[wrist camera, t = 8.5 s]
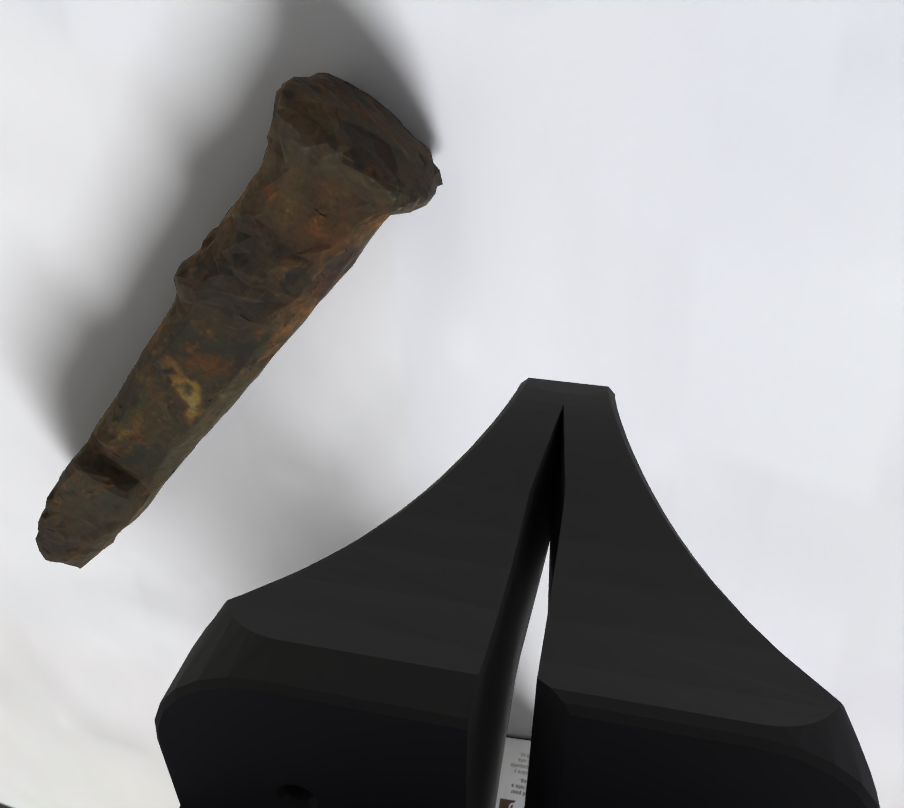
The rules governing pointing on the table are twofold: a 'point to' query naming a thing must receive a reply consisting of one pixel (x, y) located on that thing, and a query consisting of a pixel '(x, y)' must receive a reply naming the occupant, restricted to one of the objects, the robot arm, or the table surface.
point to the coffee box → (513, 774)
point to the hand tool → (242, 300)
